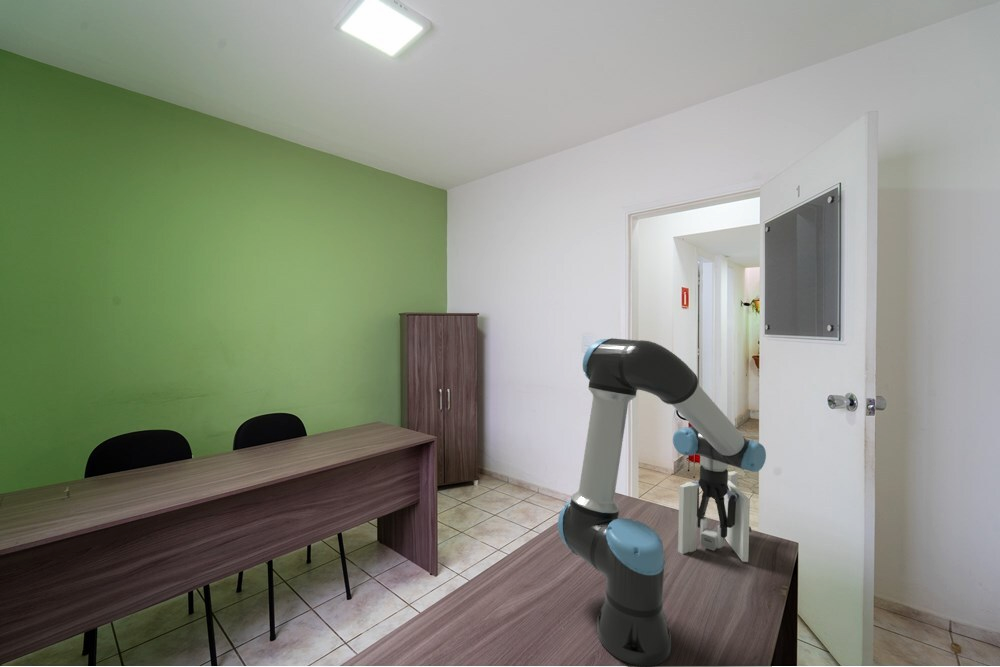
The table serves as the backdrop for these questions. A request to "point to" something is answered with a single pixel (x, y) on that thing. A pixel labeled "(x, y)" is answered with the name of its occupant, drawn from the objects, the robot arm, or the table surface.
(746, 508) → the door
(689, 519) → the door frame
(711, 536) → the usb wall charger
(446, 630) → the table surface
